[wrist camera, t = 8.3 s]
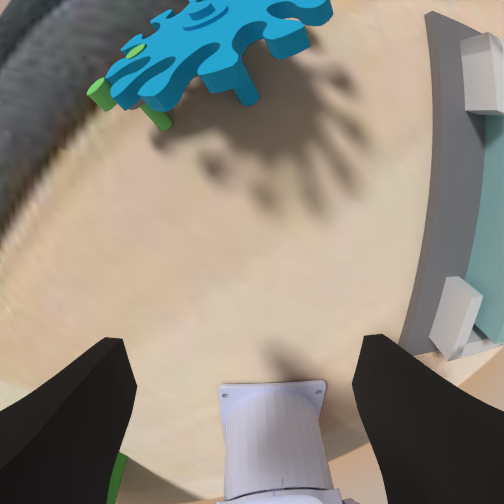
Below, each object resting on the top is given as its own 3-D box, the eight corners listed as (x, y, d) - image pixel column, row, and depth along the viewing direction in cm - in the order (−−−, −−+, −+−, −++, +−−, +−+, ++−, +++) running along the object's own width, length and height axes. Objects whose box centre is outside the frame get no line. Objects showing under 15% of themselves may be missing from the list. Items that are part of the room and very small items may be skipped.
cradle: (489, 330, 20) (512, 354, 17) (396, 349, 20) (417, 383, 16) (523, 64, 12) (556, 61, 8) (424, 15, 12) (458, -4, 8)
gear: (280, -45, 10) (378, 5, 6) (308, 32, 15) (386, 133, 11) (101, 38, 12) (54, 152, 8) (152, 97, 17) (149, 221, 13)
